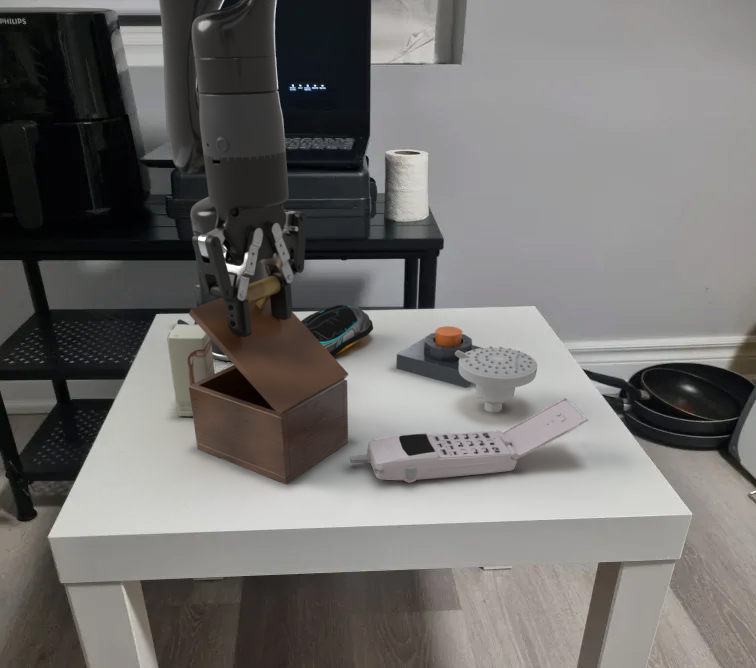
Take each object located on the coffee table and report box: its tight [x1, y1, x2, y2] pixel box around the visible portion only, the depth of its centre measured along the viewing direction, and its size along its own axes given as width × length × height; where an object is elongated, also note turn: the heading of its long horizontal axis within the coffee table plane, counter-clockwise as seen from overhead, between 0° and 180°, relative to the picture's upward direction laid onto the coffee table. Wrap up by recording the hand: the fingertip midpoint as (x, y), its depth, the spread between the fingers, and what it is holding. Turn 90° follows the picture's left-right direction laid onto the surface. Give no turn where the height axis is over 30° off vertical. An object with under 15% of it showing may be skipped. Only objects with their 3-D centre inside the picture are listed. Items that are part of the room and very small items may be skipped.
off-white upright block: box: [166, 323, 216, 417], centre depth 90 cm, size 5×4×10 cm
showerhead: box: [455, 346, 538, 413], centre depth 92 cm, size 9×7×10 cm
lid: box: [188, 276, 349, 416], centre depth 77 cm, size 14×11×5 cm
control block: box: [395, 332, 482, 389], centre depth 103 cm, size 11×9×4 cm
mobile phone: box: [349, 397, 589, 484], centre depth 80 cm, size 6×6×25 cm
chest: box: [189, 364, 349, 485], centre depth 83 cm, size 13×11×8 cm
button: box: [434, 325, 463, 346], centre depth 102 cm, size 4×4×2 cm
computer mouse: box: [300, 304, 374, 358], centre depth 108 cm, size 9×17×6 cm, turn 130°
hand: (262, 325), depth 78 cm, fingers closed on lid, 5 cm apart
